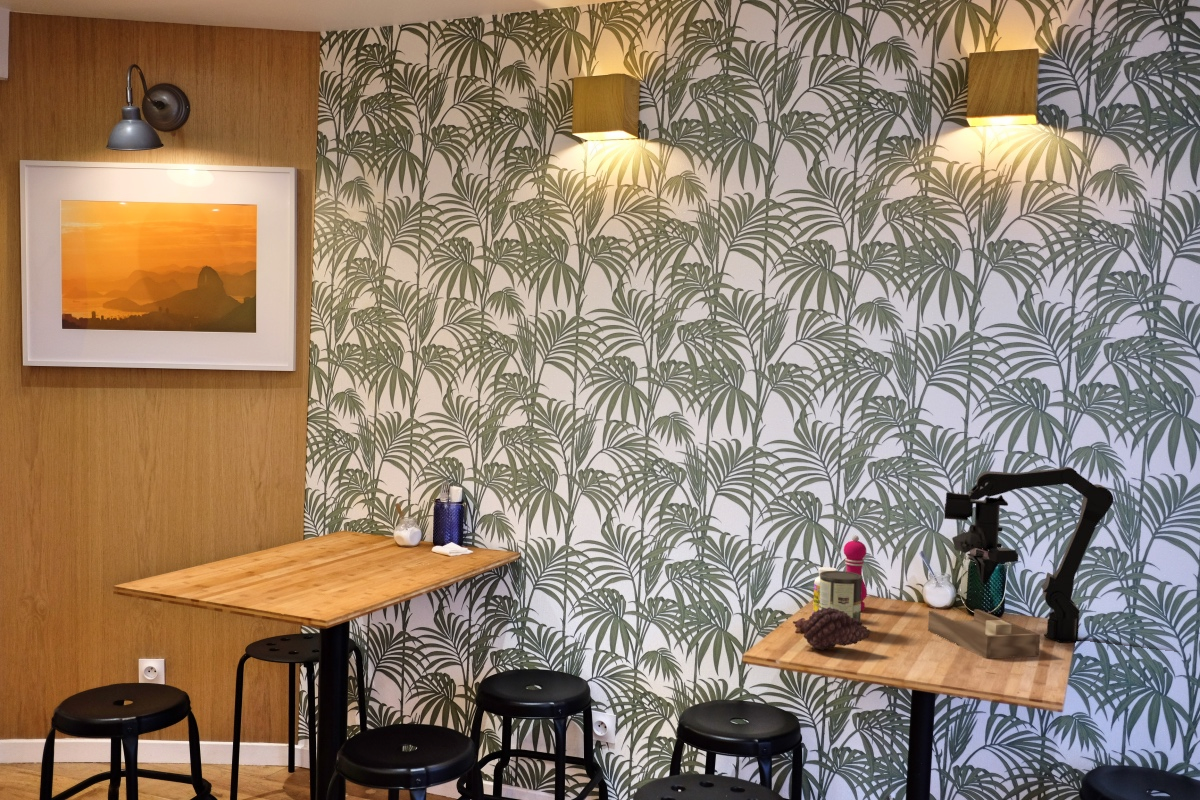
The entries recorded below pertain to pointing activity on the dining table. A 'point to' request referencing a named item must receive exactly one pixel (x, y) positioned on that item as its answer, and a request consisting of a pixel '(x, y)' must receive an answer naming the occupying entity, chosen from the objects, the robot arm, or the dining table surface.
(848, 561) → the pepper mill
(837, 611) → the pine cone
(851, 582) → the coffee can
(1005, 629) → the beech block
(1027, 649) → the tray
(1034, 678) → the dining table surface
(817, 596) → the supplement bottle
